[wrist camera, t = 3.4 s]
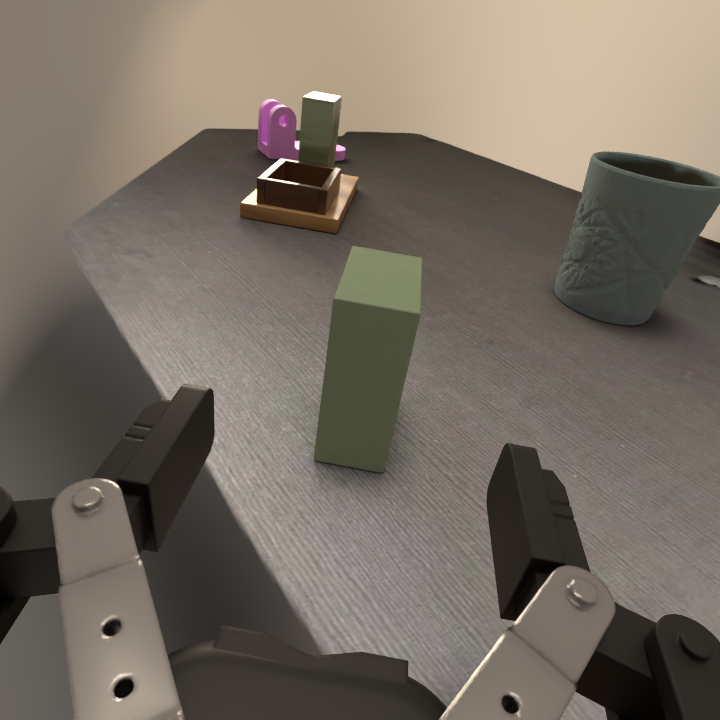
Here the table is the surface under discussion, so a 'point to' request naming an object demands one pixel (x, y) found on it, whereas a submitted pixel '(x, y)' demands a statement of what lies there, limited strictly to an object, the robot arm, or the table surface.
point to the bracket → (281, 132)
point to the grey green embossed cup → (632, 234)
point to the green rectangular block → (368, 357)
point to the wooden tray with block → (306, 175)
